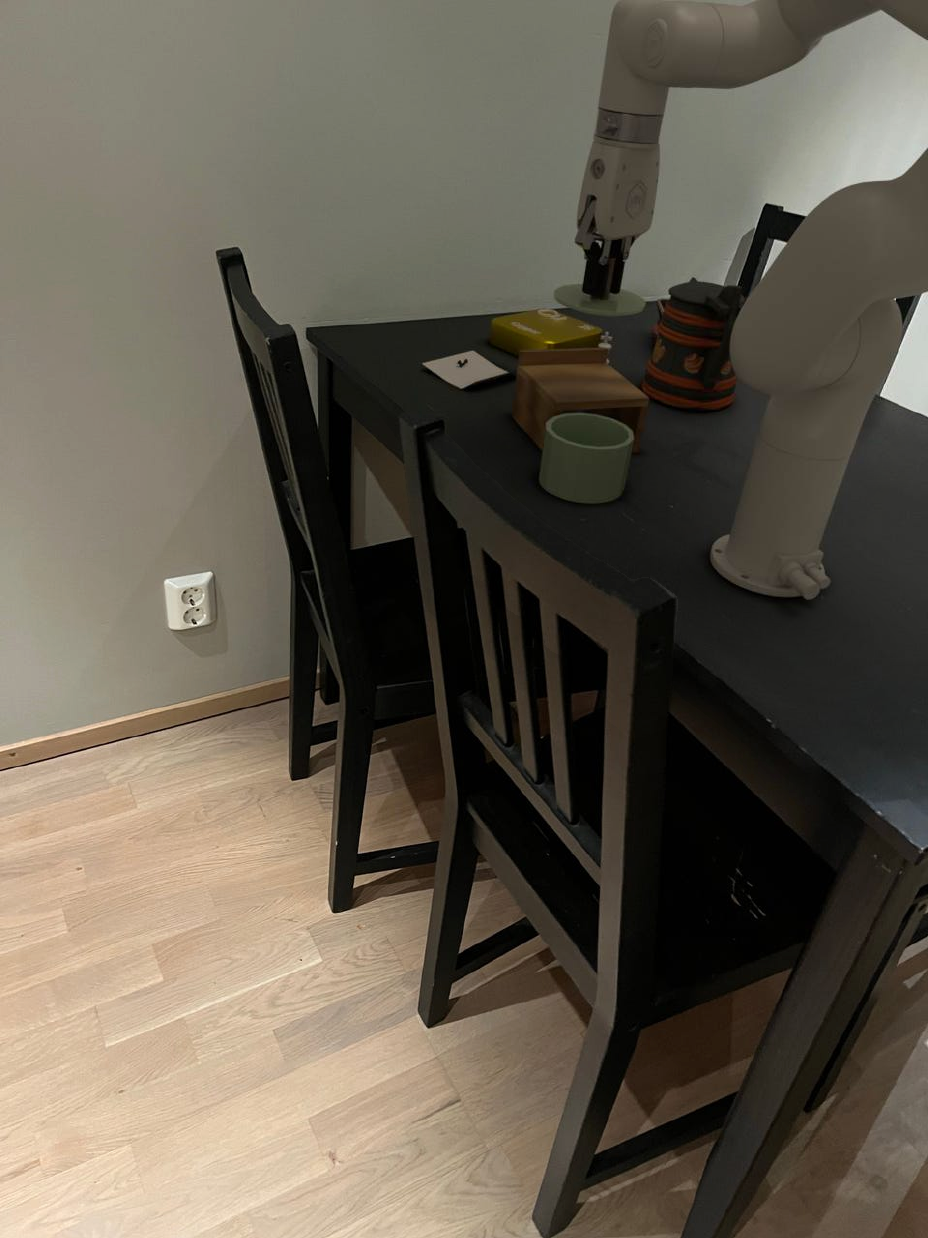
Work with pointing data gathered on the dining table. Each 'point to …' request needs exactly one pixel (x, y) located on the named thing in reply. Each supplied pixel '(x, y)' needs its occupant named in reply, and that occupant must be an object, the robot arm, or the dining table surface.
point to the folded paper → (466, 369)
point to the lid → (603, 306)
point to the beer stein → (695, 347)
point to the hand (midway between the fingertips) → (600, 291)
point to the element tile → (542, 332)
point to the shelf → (574, 390)
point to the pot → (585, 457)
